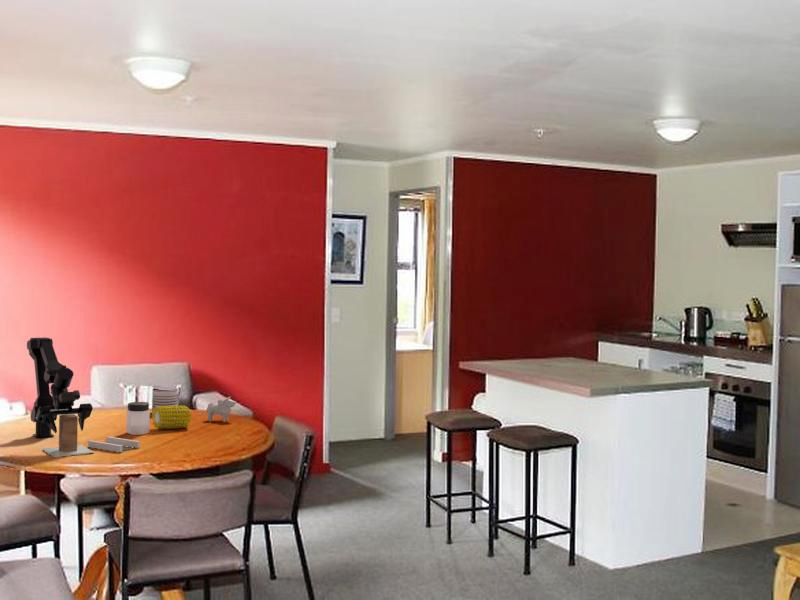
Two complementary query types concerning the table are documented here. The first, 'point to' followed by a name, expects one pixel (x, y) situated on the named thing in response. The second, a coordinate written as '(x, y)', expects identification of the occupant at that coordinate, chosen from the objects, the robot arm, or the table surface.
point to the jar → (138, 418)
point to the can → (164, 396)
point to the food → (171, 417)
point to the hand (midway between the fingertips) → (69, 431)
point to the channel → (114, 444)
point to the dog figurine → (220, 408)
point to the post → (68, 432)
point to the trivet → (57, 453)
